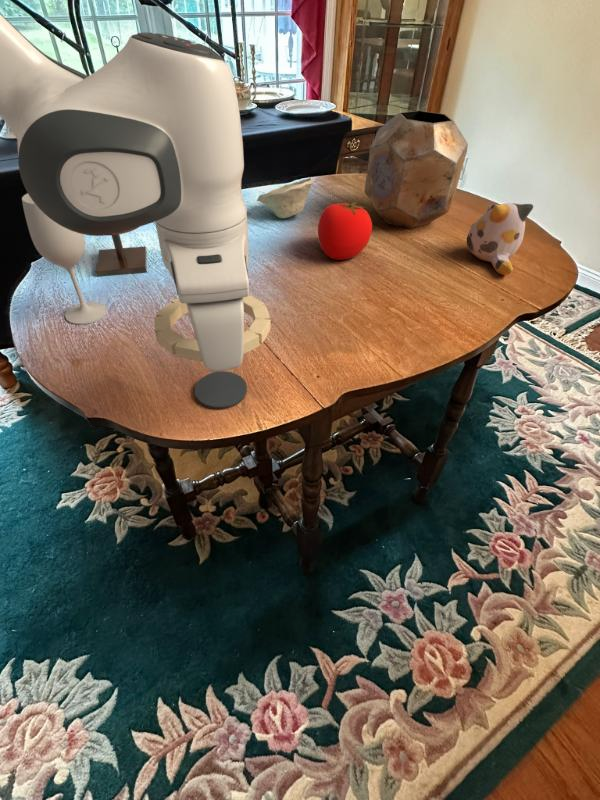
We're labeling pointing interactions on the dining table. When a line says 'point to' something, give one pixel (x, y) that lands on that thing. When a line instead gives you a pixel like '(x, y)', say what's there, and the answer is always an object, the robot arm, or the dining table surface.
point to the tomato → (344, 230)
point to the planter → (415, 168)
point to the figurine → (499, 234)
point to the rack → (121, 259)
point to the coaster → (220, 390)
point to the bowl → (287, 198)
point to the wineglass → (61, 256)
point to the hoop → (190, 346)
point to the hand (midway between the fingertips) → (218, 350)
